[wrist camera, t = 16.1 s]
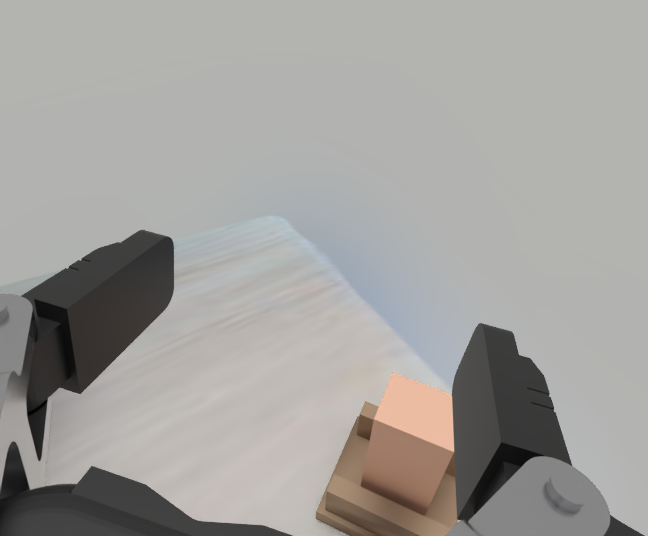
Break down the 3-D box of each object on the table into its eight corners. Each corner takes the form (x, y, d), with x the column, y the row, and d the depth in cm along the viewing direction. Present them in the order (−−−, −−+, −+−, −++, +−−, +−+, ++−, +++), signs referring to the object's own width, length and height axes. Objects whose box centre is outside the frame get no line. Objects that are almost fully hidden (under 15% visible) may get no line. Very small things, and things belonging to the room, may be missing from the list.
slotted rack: (316, 518, 31) (317, 492, 28) (356, 424, 36) (360, 395, 34) (442, 582, 28) (457, 560, 25) (464, 469, 34) (478, 442, 31)
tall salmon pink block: (358, 495, 31) (373, 419, 24) (375, 451, 33) (392, 372, 27) (420, 524, 29) (453, 452, 23) (432, 476, 32) (465, 399, 26)
